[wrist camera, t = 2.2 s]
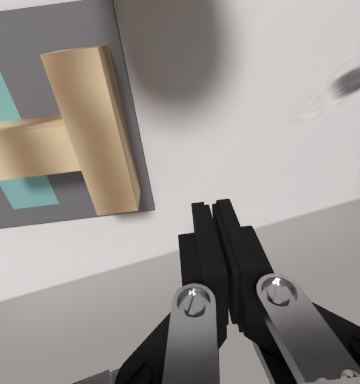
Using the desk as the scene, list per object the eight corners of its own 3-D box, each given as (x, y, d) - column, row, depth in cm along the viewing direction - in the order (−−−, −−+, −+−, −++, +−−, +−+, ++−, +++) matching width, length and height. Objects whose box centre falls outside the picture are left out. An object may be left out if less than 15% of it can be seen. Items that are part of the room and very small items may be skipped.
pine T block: (108, 43, 21) (97, 47, 18) (141, 189, 29) (137, 210, 25) (-37, 63, 21) (-75, 69, 18) (34, 202, 29) (16, 225, 25)
